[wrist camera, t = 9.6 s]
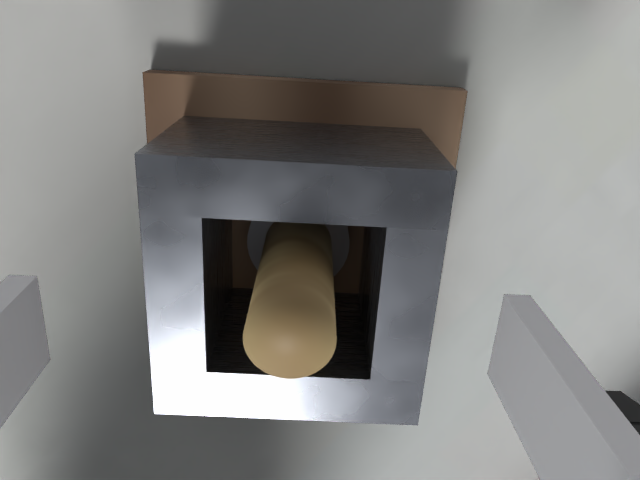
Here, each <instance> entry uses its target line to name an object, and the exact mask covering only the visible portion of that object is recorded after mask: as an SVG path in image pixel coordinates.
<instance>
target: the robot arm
mask: <svg viewBox="0 0 640 480" xmlns="http://www.w3.org/2000/svg"><path fill="white" fill-rule="evenodd" d="M49 361H50V354H49V348H48V341H47V335H46V329H45V322H44V316H43V310H42V304H41V297H40V291H39V285H38V278H37V276H22V275H8V276H7V277H6V278H5V279H4V280H3V281H2V282H0V428H1V427H2V426H3V424H4V423H5V421H6V420H7V419H8V417H9V416H10V415H11V413H12V412H13V410H14V409H15V408H16V406H17V405H18V403H19V402H20V401H21V399H22V398H23V397H24V395H25V394H26V392H27V391H28V390H29V388H30V387H31V386H32V384H33V383H34V381H35V380H36V379H37V377H38V376H39V375H40V373H41V372H42V370H43V369H44V368H45V366H46V365H47V364H48V362H49ZM487 374H488V376H489V378H490V380H491V382H492V384H493V386H494V388H495V390H496V392H497V394H498V396H499V398H500V400H501V402H502V404H503V406H504V408H505V410H506V412H507V414H508V416H509V418H510V420H511V422H512V424H513V426H514V428H515V430H516V432H517V434H518V436H519V438H520V440H521V442H522V444H523V446H524V448H525V450H526V452H527V454H528V456H529V458H530V460H531V462H532V464H533V466H534V468H535V470H536V472H537V474H538V476H539V479H540V480H640V405H639V404H638V403H636V402H635V401H633V400H632V399H631V398H629V397H628V396H626V395H625V394H624V393H622V392H621V391H605V390H604V389H603V388H602V386H601V385H600V384H599V382H598V381H597V380H596V379H595V377H594V376H593V375H592V374H591V372H590V371H589V370H588V368H587V367H586V366H585V365H584V363H583V362H582V361H581V359H580V358H579V357H578V356H577V354H576V353H575V352H574V351H573V349H572V348H571V347H570V345H569V344H568V343H567V342H566V340H565V339H564V338H563V336H562V335H561V334H560V333H559V331H558V330H557V329H556V328H555V326H554V325H553V324H552V322H551V321H550V320H549V319H548V317H547V316H546V315H545V313H544V312H543V311H542V310H541V308H540V307H539V306H538V304H537V303H536V302H535V301H534V299H533V298H532V297H531V296H530V295H511V294H504V297H503V302H502V306H501V311H500V316H499V321H498V326H497V330H496V335H495V340H494V345H493V349H492V354H491V359H490V364H489V368H488V373H487Z"/></svg>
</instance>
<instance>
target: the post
mask: <svg viewBox="0 0 640 480" xmlns="http://www.w3.org/2000/svg"><path fill="white" fill-rule="evenodd" d="M143 85H144V101H145V116H146V132H147V144H148V143H149V142H150V141H152V140H153V139H154V138H156V137H157V136H158V135H159V134H161V133H162V132H163V131H165V130H166V129H167V128H168V127H170V126H171V125H172V124H174V123H175V122H176V121H178V120H179V119H180V118H181V117H183V116H201V117H219V118H237V119H255V120H273V121H291V122H309V123H327V124H345V125H363V126H381V127H399V128H417V129H422V131H423V132H424V133H425V134H426V135H427V136H428V138H429V139H430V140H431V141H432V142H433V143H434V145H435V146H436V147H437V148H438V149H439V150H440V152H441V153H442V154H443V155H444V156H445V157H446V159H447V160H448V161H449V162H450V163H451V164H452V165H453V167H454V168H455V169H456V163H457V156H458V150H459V143H460V137H461V130H462V124H463V117H464V111H465V104H466V98H467V92H468V91H466V90H465V89H463V88H458V87H441V86H424V85H407V84H389V83H372V82H355V81H338V80H321V79H303V78H286V77H269V76H252V75H234V74H217V73H200V72H183V71H166V70H148V71H145V72H143ZM364 227H365V226H348V225H329V224H309V223H290V222H271V221H251V220H232V258H233V287H235V288H254V289H253V293H252V297H251V301H250V305H249V310H248V314H247V318H246V322H245V327H244V331H243V345H244V349H245V351H246V354H247V356H248V357H249V359H250V360H251V361H252V363H253V364H254V365H255V366H256V367H258V368H259V369H260V370H262V371H263V372H265V373H267V374H269V375H272V376H275V377H279V378H285V379H296V378H302V377H306V376H309V375H312V374H314V373H316V372H317V371H319V370H321V369H322V368H323V367H324V366H325V365H326V364H327V363H328V362H329V361H330V359H331V358H332V356H333V354H334V351H335V348H336V343H337V335H336V316H335V297H334V292H337V293H358V292H359V281H360V270H361V260H362V249H363V238H364Z"/></svg>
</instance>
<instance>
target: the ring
mask: <svg viewBox="0 0 640 480" xmlns="http://www.w3.org/2000/svg"><path fill="white" fill-rule="evenodd" d="M135 165H136V178H137V191H138V204H139V218H140V231H141V244H142V258H143V271H144V284H145V298H146V311H147V324H148V338H149V351H150V364H151V378H152V391H153V404H154V414H169V415H192V416H215V417H238V418H261V419H284V420H307V421H330V422H353V423H376V424H399V425H418V420H419V414H420V408H421V401H422V395H423V388H424V382H425V375H426V369H427V363H428V356H429V350H430V343H431V337H432V330H433V324H434V318H435V311H436V305H437V298H438V292H439V285H440V279H441V273H442V266H443V260H444V253H445V247H446V240H447V234H448V228H449V221H450V215H451V208H452V202H453V195H454V189H455V183H456V176H457V170H456V169H455V168H454V167H453V165H452V164H451V163H450V162H449V161H448V160H447V159H446V157H445V156H444V155H443V154H442V153H441V152H440V150H439V149H438V148H437V147H436V146H435V145H434V143H433V142H432V141H431V140H430V139H429V138H428V136H427V135H426V134H425V133H424V132H423V131H422V129H417V128H399V127H381V126H363V125H345V124H327V123H309V122H291V121H273V120H255V119H237V118H219V117H201V116H183V117H181V118H180V119H179V120H178V121H176V122H175V123H174V124H172V125H171V126H170V127H168V128H167V129H166V130H165V131H163V132H162V133H161V134H159V135H158V136H157V137H156V138H154V139H153V140H152V141H150V142H149V143H148V144H147V145H145V146H144V147H143V148H141V149H140V150H139V151H138V152H136V153H135ZM232 220H251V221H271V222H290V223H309V224H329V225H348V226H365V227H364V238H363V249H362V260H361V270H360V281H359V292H358V293H337V292H334V297H335V316H336V335H337V343H336V348H335V351H334V354H333V356H332V358H331V359H330V361H329V362H328V363H327V364H326V365H325V366H324V367H323V368H322V369H321V370H319V371H317V372H316V373H314V374H312V375H309V376H306V377H302V378H296V379H285V378H279V377H275V376H272V375H269V374H267V373H265V372H263V371H262V370H260V369H259V368H258V367H256V366H255V365H254V364H253V363H252V361H251V360H250V359H249V357H248V356H247V354H246V351H245V349H244V345H243V331H244V327H245V322H246V318H247V314H248V310H249V305H250V301H251V297H252V293H253V289H254V288H235V287H233V258H232Z"/></svg>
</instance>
